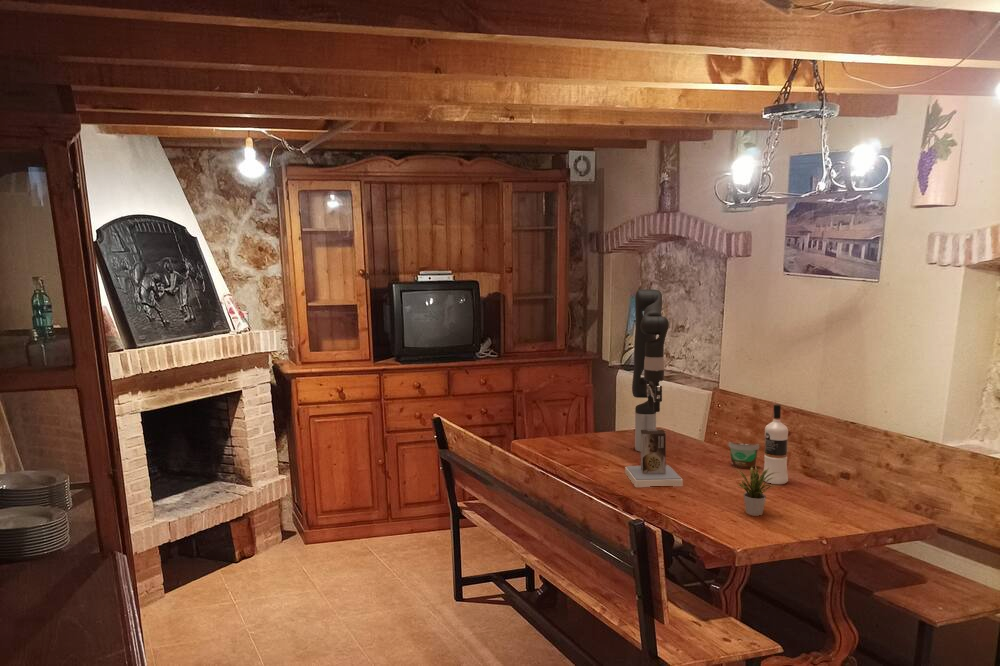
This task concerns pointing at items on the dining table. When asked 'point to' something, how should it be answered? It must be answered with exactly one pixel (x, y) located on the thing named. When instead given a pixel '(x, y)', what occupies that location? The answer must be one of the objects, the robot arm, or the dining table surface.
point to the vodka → (776, 449)
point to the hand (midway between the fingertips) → (653, 409)
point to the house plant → (755, 492)
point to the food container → (743, 455)
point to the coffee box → (653, 452)
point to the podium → (653, 477)
